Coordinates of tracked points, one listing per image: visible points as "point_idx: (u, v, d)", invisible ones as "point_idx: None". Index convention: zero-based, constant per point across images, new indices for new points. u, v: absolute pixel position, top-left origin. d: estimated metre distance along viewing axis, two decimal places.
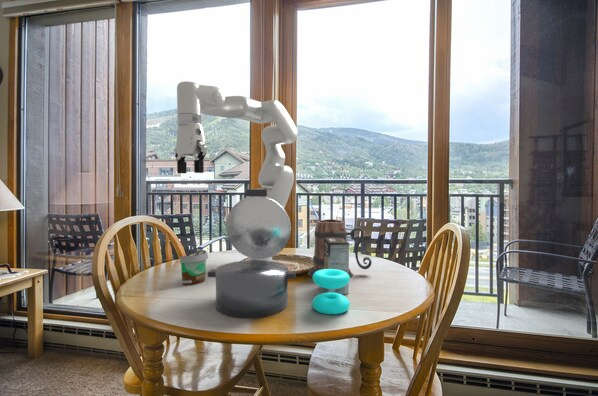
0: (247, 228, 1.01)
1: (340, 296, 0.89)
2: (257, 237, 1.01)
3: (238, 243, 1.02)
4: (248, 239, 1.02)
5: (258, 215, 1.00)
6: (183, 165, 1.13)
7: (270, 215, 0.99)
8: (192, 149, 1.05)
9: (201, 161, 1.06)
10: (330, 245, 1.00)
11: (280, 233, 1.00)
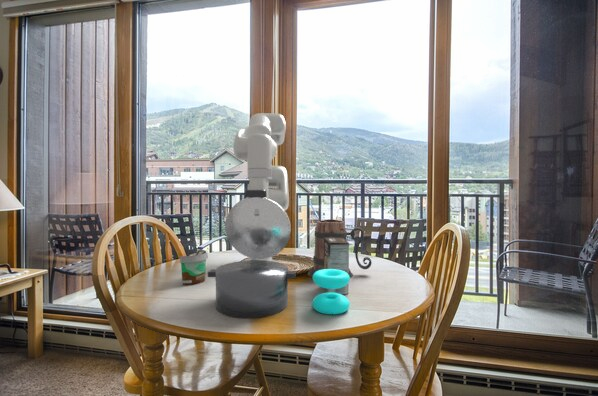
0: (247, 229, 1.00)
1: (340, 296, 0.89)
2: (257, 238, 1.01)
3: (238, 243, 1.02)
4: (248, 239, 1.01)
5: (258, 216, 0.99)
6: None
7: (270, 216, 0.99)
8: None
9: None
10: (330, 245, 1.00)
11: (280, 233, 1.00)
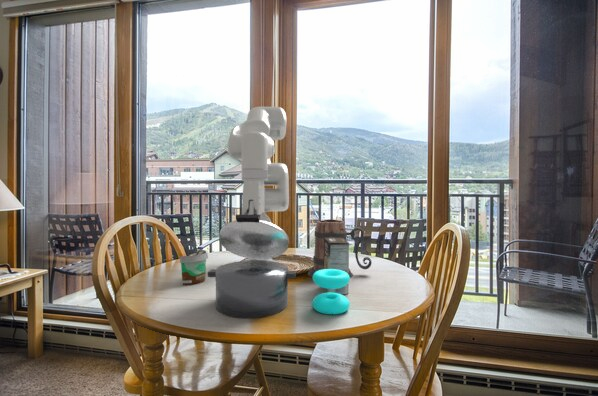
0: (242, 242, 0.95)
1: (340, 296, 0.89)
2: (255, 247, 0.97)
3: (235, 250, 0.99)
4: (245, 248, 0.98)
5: (253, 234, 0.92)
6: None
7: (265, 234, 0.91)
8: (264, 207, 1.00)
9: None
10: (330, 245, 1.00)
11: (278, 245, 0.95)
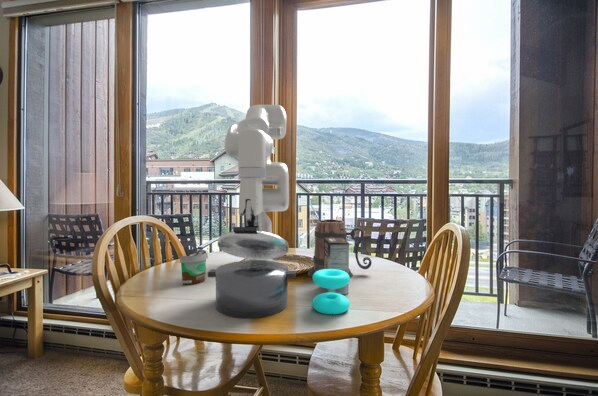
0: (242, 248, 0.94)
1: (340, 296, 0.89)
2: (254, 251, 0.97)
3: (235, 253, 0.99)
4: (244, 252, 0.97)
5: (252, 242, 0.90)
6: None
7: (264, 243, 0.90)
8: None
9: None
10: (330, 245, 1.00)
11: (277, 250, 0.95)
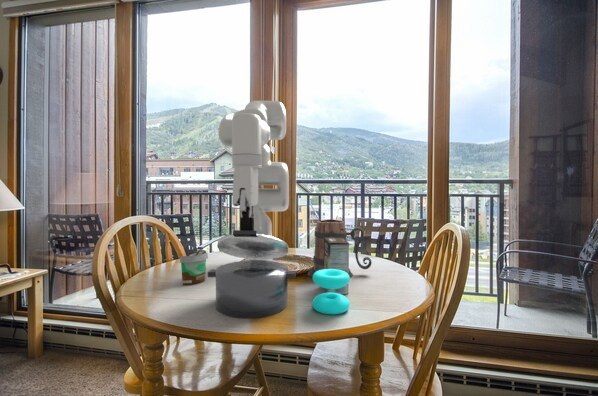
0: (241, 249, 0.94)
1: (340, 296, 0.89)
2: (254, 252, 0.96)
3: (235, 254, 0.99)
4: (244, 253, 0.97)
5: (251, 245, 0.90)
6: None
7: (264, 245, 0.90)
8: None
9: None
10: (330, 245, 1.00)
11: (277, 251, 0.94)
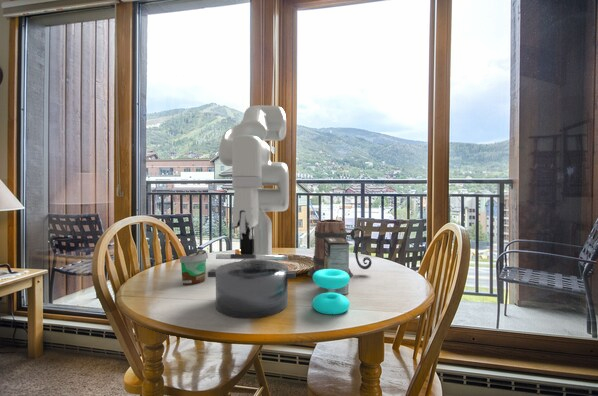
0: None
1: (340, 296, 0.89)
2: None
3: None
4: None
5: (250, 259, 0.89)
6: None
7: None
8: None
9: None
10: (330, 245, 1.00)
11: None
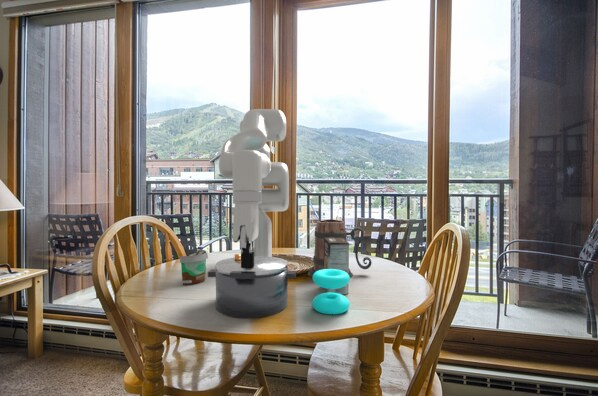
0: None
1: (340, 296, 0.89)
2: None
3: None
4: None
5: None
6: None
7: None
8: (258, 232, 0.91)
9: None
10: (330, 245, 1.00)
11: None
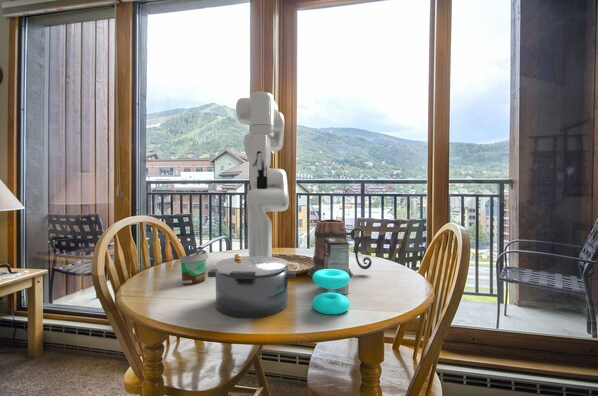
0: None
1: (340, 296, 0.89)
2: None
3: None
4: None
5: None
6: None
7: None
8: None
9: None
10: (330, 245, 1.00)
11: None
